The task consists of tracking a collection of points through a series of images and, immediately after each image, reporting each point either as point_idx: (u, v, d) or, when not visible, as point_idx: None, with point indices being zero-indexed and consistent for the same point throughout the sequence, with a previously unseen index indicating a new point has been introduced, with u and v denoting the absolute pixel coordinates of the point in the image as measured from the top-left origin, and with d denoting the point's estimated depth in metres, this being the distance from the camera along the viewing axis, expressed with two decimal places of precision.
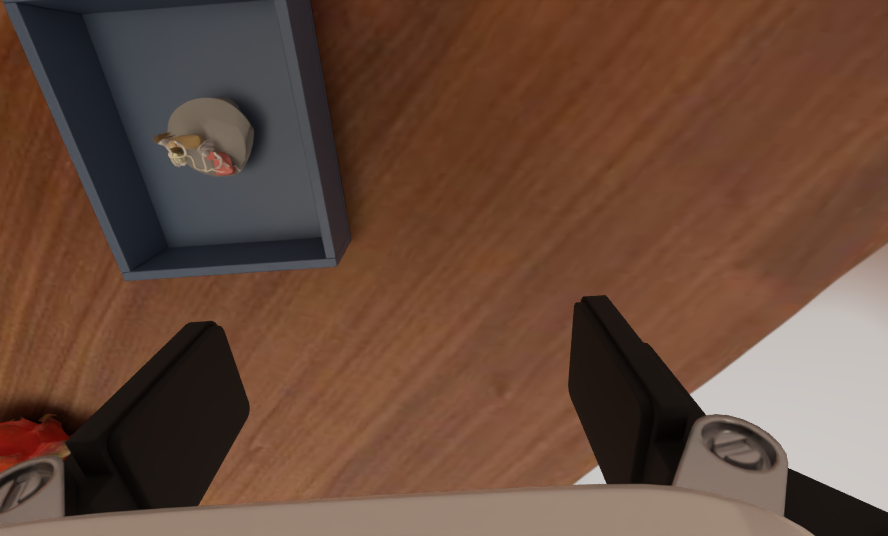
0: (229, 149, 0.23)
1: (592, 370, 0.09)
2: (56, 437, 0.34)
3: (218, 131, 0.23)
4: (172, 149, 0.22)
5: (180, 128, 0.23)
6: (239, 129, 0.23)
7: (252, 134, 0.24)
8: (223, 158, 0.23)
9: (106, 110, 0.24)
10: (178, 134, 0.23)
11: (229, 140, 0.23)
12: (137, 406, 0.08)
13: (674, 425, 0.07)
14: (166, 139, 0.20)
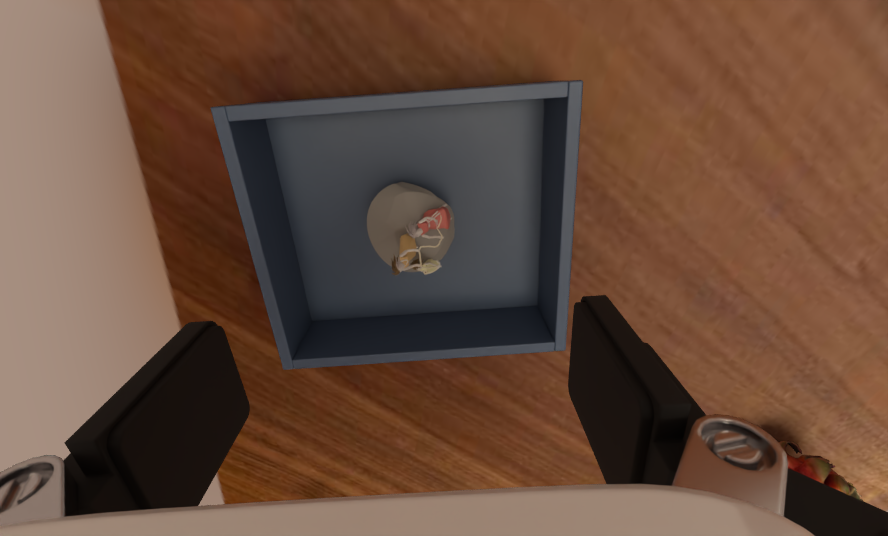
0: (419, 209, 0.20)
1: (592, 370, 0.09)
2: None
3: (399, 216, 0.20)
4: (416, 266, 0.20)
5: (398, 256, 0.21)
6: (397, 194, 0.20)
7: (405, 183, 0.21)
8: (428, 216, 0.20)
9: (389, 323, 0.25)
10: None
11: (409, 207, 0.20)
12: (137, 406, 0.08)
13: (674, 425, 0.07)
14: (396, 262, 0.18)
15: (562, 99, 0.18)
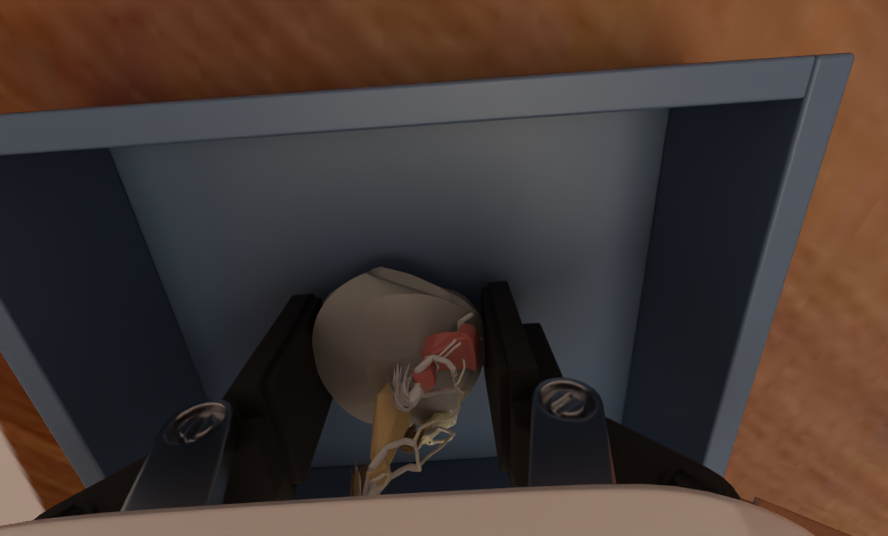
0: (416, 330, 0.10)
1: (487, 347, 0.10)
2: None
3: (375, 345, 0.10)
4: (410, 447, 0.10)
5: None
6: (372, 299, 0.10)
7: (390, 272, 0.10)
8: (435, 349, 0.09)
9: None
10: None
11: (395, 326, 0.10)
12: (278, 360, 0.09)
13: (526, 387, 0.08)
14: (361, 491, 0.08)
15: (767, 103, 0.07)
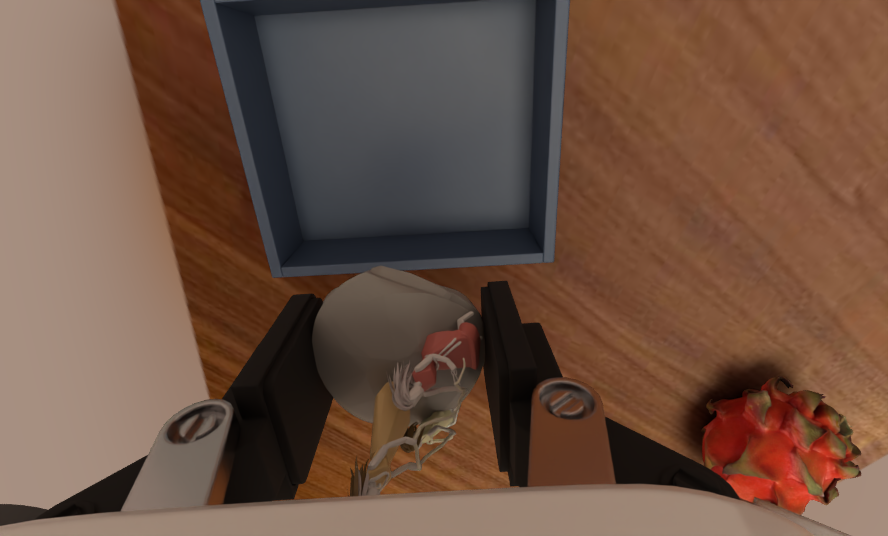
0: (416, 329, 0.10)
1: (487, 346, 0.10)
2: (740, 404, 0.29)
3: (374, 344, 0.10)
4: (410, 446, 0.10)
5: None
6: (372, 298, 0.10)
7: (390, 271, 0.10)
8: (435, 348, 0.09)
9: (380, 241, 0.25)
10: None
11: (395, 325, 0.10)
12: (278, 360, 0.09)
13: (526, 387, 0.08)
14: (361, 490, 0.08)
15: None
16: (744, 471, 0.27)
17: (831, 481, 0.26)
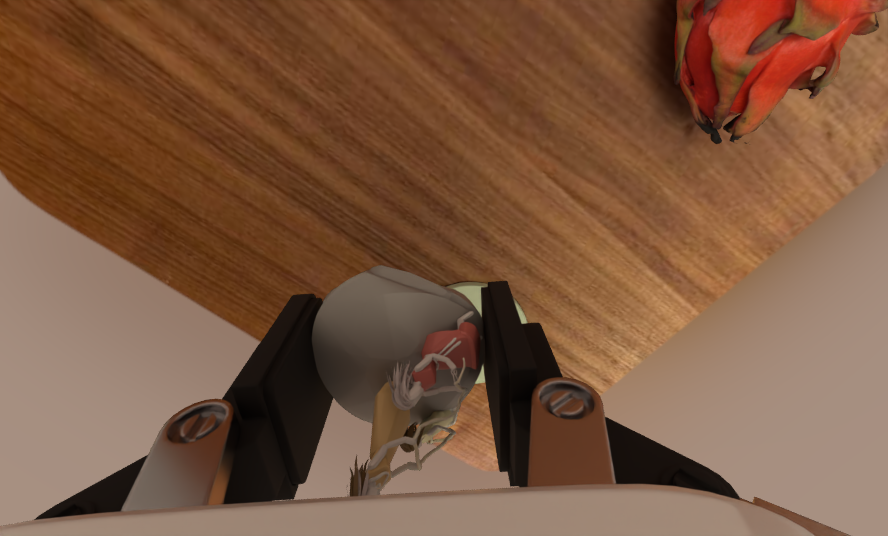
0: (416, 328, 0.10)
1: (487, 346, 0.10)
2: None
3: (374, 344, 0.10)
4: (410, 446, 0.10)
5: None
6: (372, 297, 0.10)
7: (389, 271, 0.10)
8: (435, 347, 0.09)
9: None
10: None
11: (395, 325, 0.10)
12: (278, 360, 0.09)
13: (525, 387, 0.08)
14: (360, 490, 0.08)
15: None
16: None
17: None
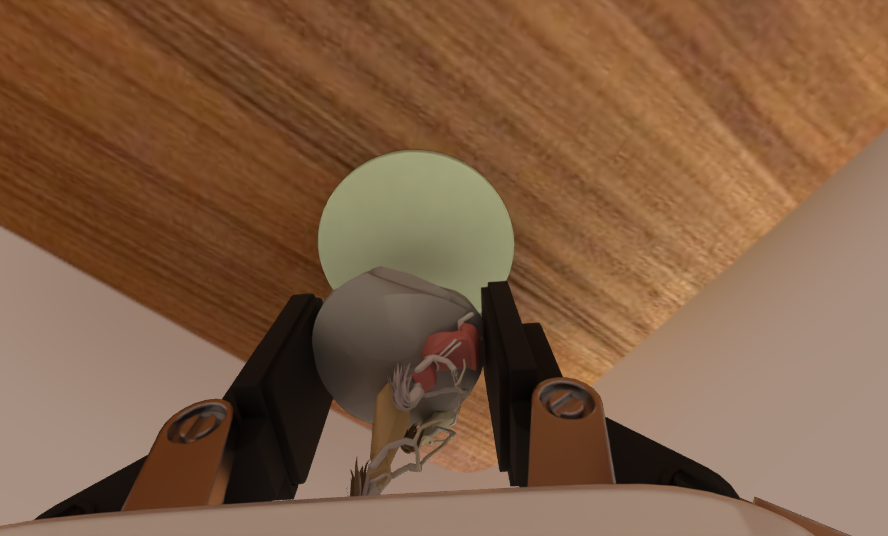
0: (417, 330, 0.10)
1: (487, 346, 0.10)
2: None
3: (375, 345, 0.10)
4: (411, 447, 0.10)
5: None
6: (372, 299, 0.10)
7: (390, 272, 0.10)
8: (435, 349, 0.09)
9: None
10: None
11: (395, 326, 0.10)
12: (278, 360, 0.09)
13: (526, 387, 0.08)
14: (361, 491, 0.08)
15: None
16: None
17: None
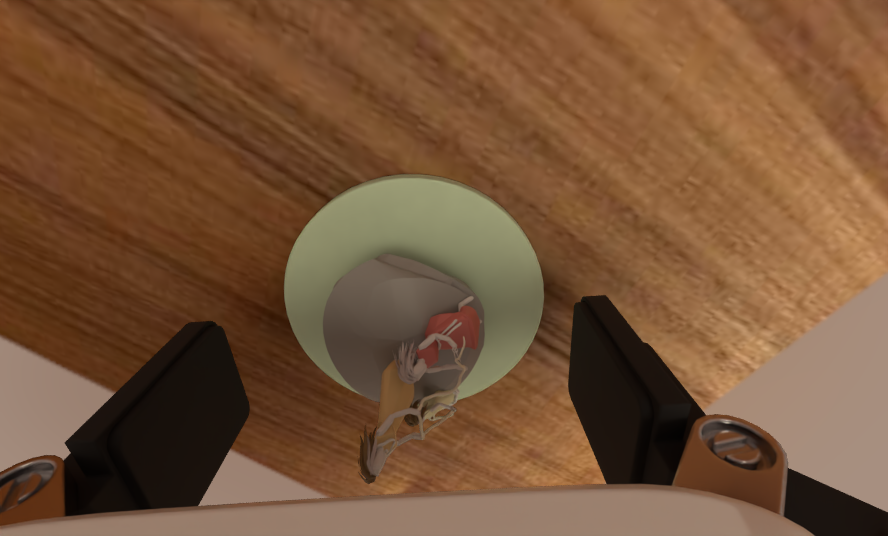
0: (420, 311, 0.10)
1: (592, 370, 0.09)
2: None
3: (381, 325, 0.10)
4: (414, 420, 0.10)
5: None
6: (379, 283, 0.10)
7: (395, 258, 0.11)
8: (437, 328, 0.10)
9: None
10: None
11: (400, 308, 0.10)
12: (137, 406, 0.08)
13: (674, 425, 0.07)
14: (370, 453, 0.08)
15: None
16: None
17: None
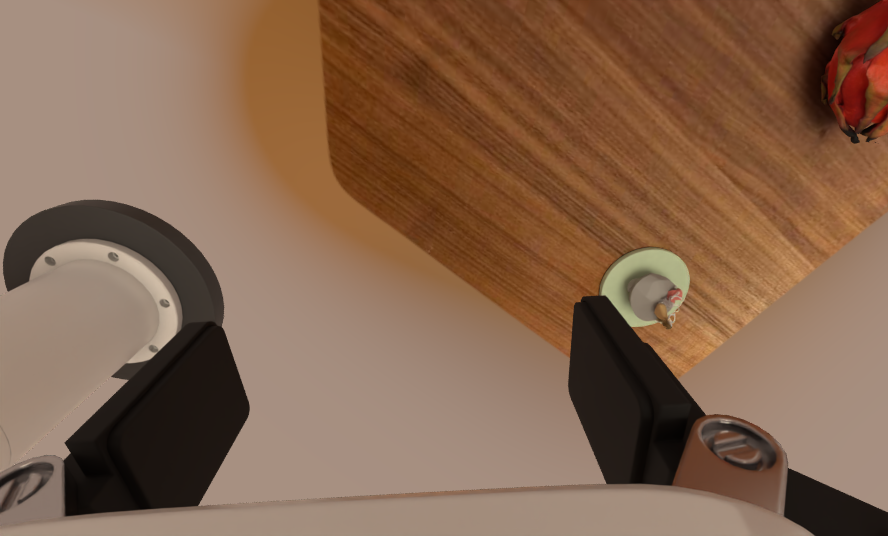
0: (666, 289, 0.36)
1: (592, 370, 0.09)
2: (876, 3, 0.28)
3: (654, 293, 0.37)
4: (663, 320, 0.37)
5: (647, 313, 0.38)
6: (653, 281, 0.37)
7: (655, 274, 0.37)
8: (672, 294, 0.36)
9: None
10: (649, 315, 0.38)
11: (660, 288, 0.36)
12: (137, 406, 0.08)
13: (674, 425, 0.07)
14: (668, 322, 0.34)
15: None
16: None
17: None
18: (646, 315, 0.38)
